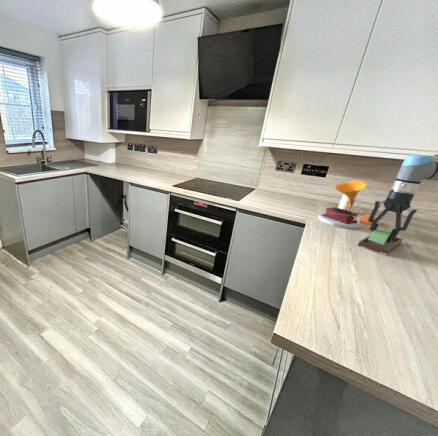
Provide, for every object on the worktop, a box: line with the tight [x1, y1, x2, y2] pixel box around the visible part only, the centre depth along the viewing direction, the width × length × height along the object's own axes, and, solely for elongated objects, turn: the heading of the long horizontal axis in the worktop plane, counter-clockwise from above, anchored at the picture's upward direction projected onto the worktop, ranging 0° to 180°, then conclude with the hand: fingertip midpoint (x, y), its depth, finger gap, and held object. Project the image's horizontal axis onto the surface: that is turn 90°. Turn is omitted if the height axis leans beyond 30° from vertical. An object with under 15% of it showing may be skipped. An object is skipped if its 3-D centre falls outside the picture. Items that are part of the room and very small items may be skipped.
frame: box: [357, 235, 404, 255], centre depth 114 cm, size 10×25×2 cm, turn 123°
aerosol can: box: [337, 193, 358, 212], centre depth 156 cm, size 7×7×20 cm
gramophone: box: [317, 179, 368, 230], centre depth 135 cm, size 20×20×25 cm
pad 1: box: [358, 213, 379, 226], centre depth 142 cm, size 10×6×4 cm, turn 123°
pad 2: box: [368, 227, 392, 245], centre depth 109 cm, size 10×6×4 cm, turn 123°
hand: (379, 239), depth 110 cm, fingers closed on pad 2, 5 cm apart
